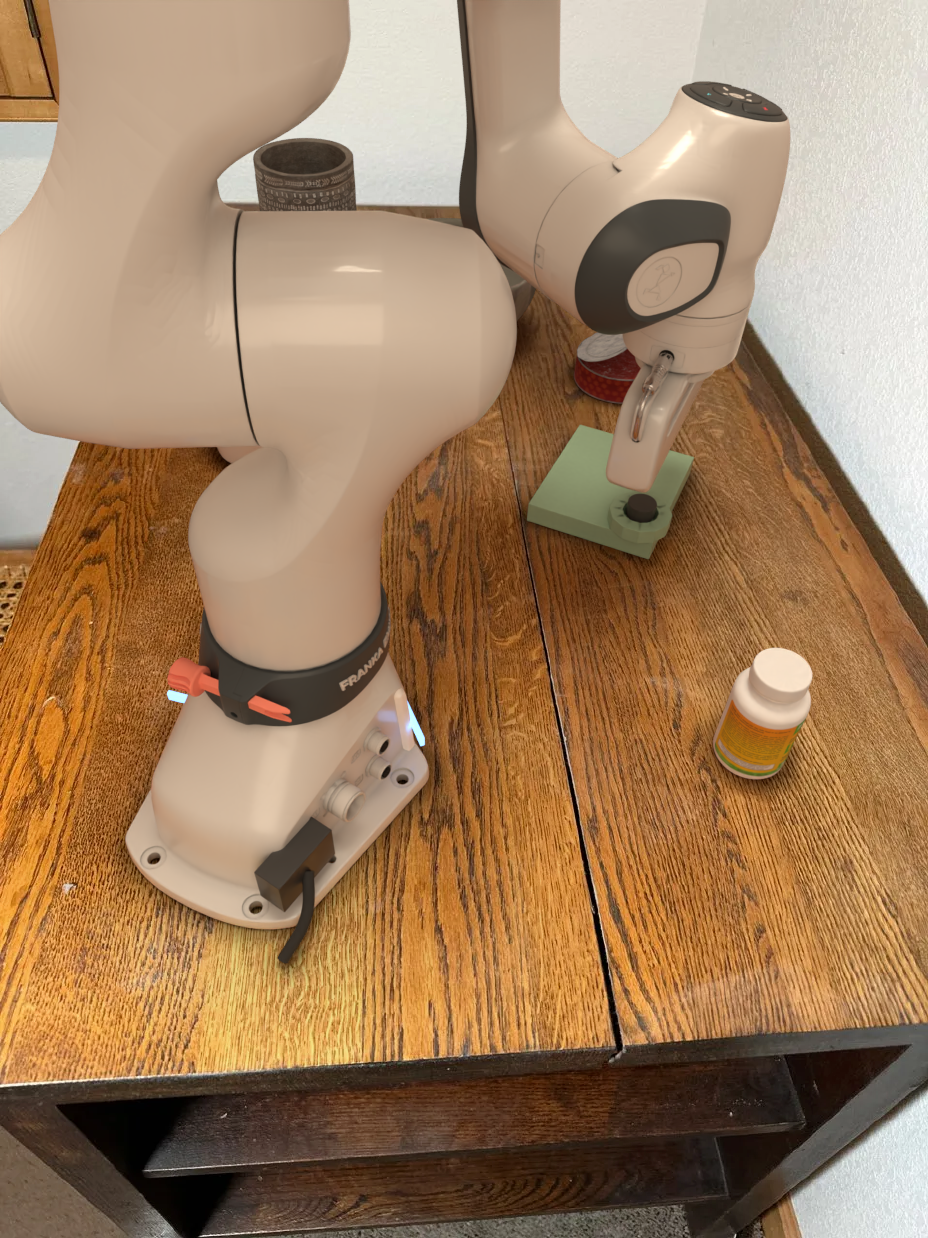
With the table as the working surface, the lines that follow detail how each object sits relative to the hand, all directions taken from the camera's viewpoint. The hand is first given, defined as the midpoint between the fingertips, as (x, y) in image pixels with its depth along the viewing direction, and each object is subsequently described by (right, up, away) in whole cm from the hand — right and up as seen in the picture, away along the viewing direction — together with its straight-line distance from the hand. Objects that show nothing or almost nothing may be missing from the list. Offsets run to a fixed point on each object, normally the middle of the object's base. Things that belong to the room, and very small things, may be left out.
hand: (650, 466), depth 81 cm
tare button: (0, -4, +3) cm, 5 cm away
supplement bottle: (+5, -23, -10) cm, 26 cm away
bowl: (-18, +20, +30) cm, 40 cm away
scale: (-2, -1, +10) cm, 10 cm away
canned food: (+1, +14, +24) cm, 28 cm away
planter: (-36, +34, +42) cm, 65 cm away
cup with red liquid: (-37, +4, +14) cm, 40 cm away
